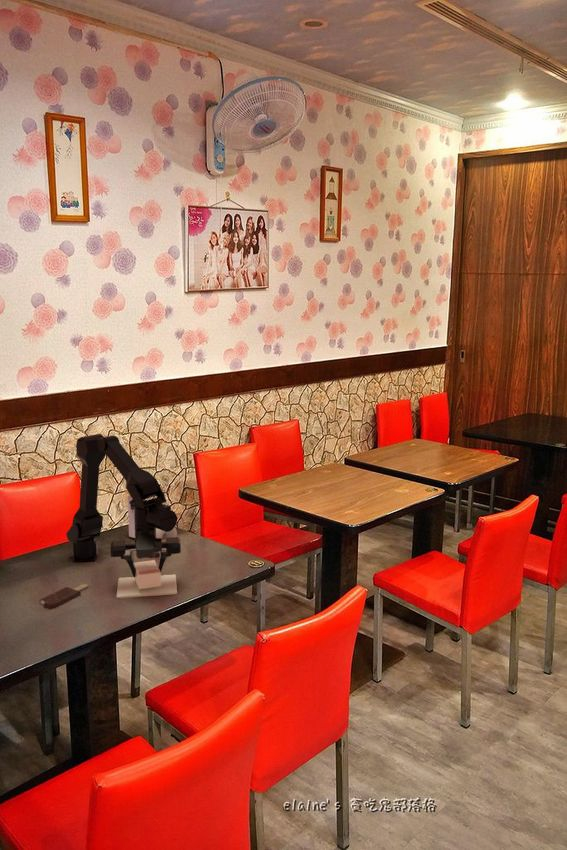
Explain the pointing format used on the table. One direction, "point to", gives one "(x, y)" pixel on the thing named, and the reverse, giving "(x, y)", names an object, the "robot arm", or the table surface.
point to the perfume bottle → (131, 517)
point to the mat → (130, 588)
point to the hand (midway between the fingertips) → (146, 575)
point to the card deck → (147, 574)
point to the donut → (168, 534)
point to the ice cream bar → (61, 596)
